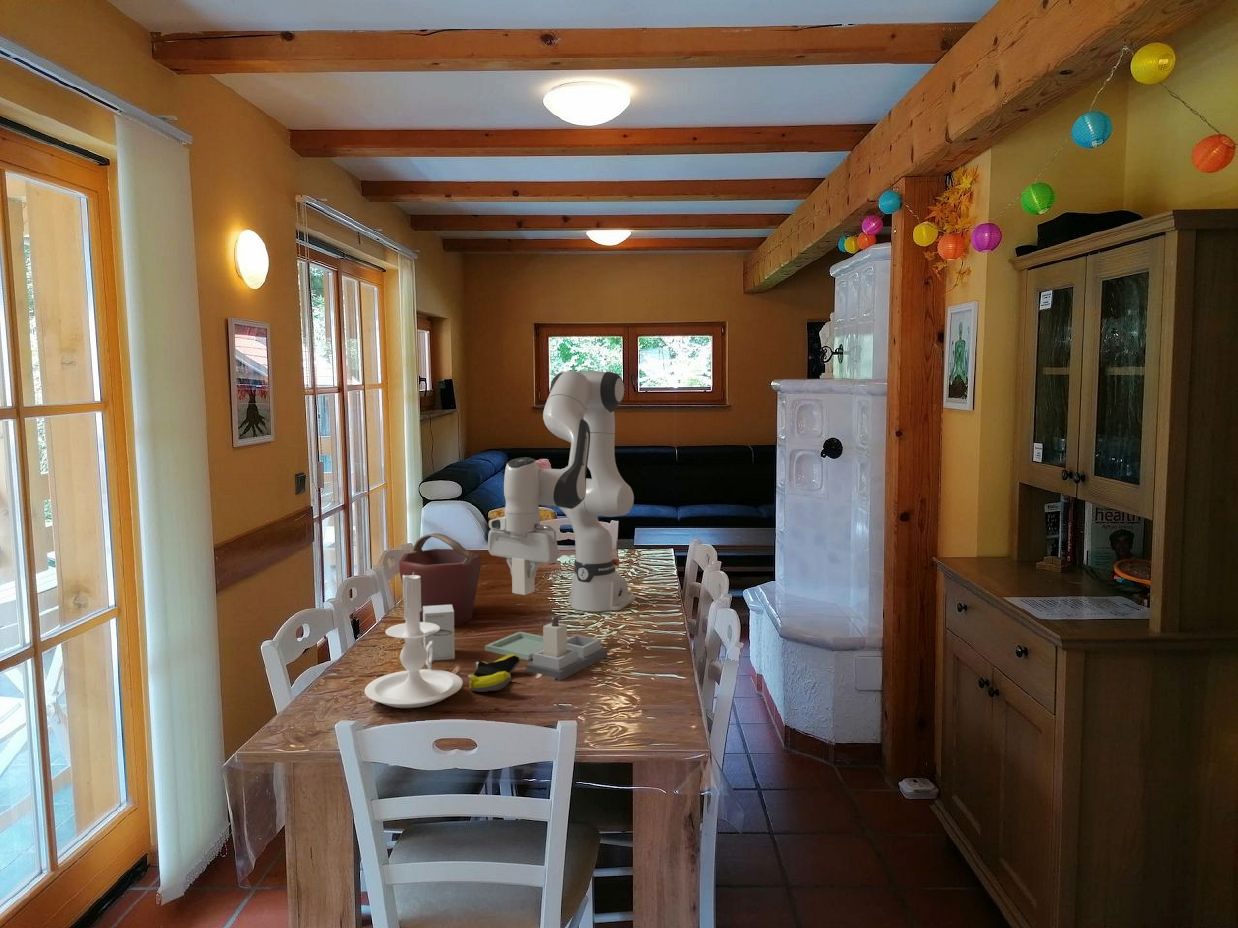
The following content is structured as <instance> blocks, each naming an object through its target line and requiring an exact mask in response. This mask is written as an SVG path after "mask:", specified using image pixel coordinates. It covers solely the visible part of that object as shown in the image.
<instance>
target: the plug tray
mask: <svg viewBox="0 0 1238 928" xmlns="http://www.w3.org/2000/svg"><path fill="white" fill-rule="evenodd" d="M542 649H543V635H538V634H534V633H533V634H532V633H529V632H523V631H517V632H515V633H513V634H510V635H508V636H506V637H502V638H501V639H498V640H495V641H493V642H490V643H488V644H486V645H484V651H485V652H491V653H495V654H499V655H503V656H507V655H510V654H516V655H518V656H519V659H521V660H526V661H530V660H533V653H536V652H538V651H540V650H542Z"/></svg>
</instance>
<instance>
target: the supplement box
mask: <svg viewBox="0 0 1238 928" xmlns="http://www.w3.org/2000/svg"><path fill="white" fill-rule="evenodd" d="M423 622H428V623H433V624H436V625H438V626H439V627H440V630H439V631H438V632H436V633H434V634H431V635H428V636H424V637H422V641H423V642H422V645H423V646H424V647H425V649H426V646H427V645H428V644H429V642H430V641H433V659H432V663H435V661H445V660H455V658H456V653H455V652H456V650H455V649H456V648H455V647H456V646H455V627H454V610H453V606H452V604H451V605H435V606H423Z"/></svg>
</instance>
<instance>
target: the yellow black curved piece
mask: <svg viewBox="0 0 1238 928" xmlns="http://www.w3.org/2000/svg"><path fill="white" fill-rule="evenodd" d="M520 661H521V660H520V658H519V656H518V655H516V654H510V655H504V656H502V657H501V658H498V659H497V660H494V661H493V662H492V661H491V662H486V661H481V660H480V661H475V667H476V670H475V672H474V673H472V674H467V677H468V680H469V686H468V687H469V689H470V690H471V691H472V692H480V693H481V692H482V693H483V692H491V691H492V692H493V691H495V692H497V691H500V690H502V689H504V688H505V687H506V686H507V685H508V684H509V682H510V681H512V676H511V674H512V672H514V671H515V669H516V668H517V667H518V665H519V664H520Z"/></svg>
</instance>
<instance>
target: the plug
mask: <svg viewBox="0 0 1238 928" xmlns="http://www.w3.org/2000/svg"><path fill="white" fill-rule="evenodd" d="M531 567H532V565H530V561H526V560H523V559H517V558H512V575H511V584H512V585H511V587H512V588H511V591H512V594H516V595H523V596H526V595H529V594H532V593H534V592H535V590H536V589H535V578H528V577H527V575H528V574H527V571H530V570H531Z"/></svg>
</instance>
